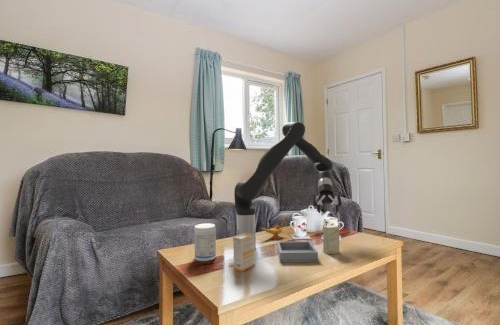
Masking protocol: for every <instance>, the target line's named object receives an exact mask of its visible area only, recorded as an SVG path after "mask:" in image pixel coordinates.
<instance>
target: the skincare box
mask: <svg viewBox="0 0 500 325" xmlns="http://www.w3.org/2000/svg"><path fill="white" fill-rule="evenodd" d="M322 234H323V235H322V236H323V240H322V242H323V244H322V246H323V248H322V249H323V252H324V253H326V254H327V255H332V254H340V252H341V251H340V227H339V226H338V225H335V224H332V225H323V226H322Z"/></svg>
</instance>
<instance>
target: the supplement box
mask: <svg viewBox="0 0 500 325" xmlns="http://www.w3.org/2000/svg"><path fill="white" fill-rule="evenodd" d="M232 243H233V248H232V249H233V269H234V270H237V271H240V272H244V271H246V270H248V269H250V268H251V267H255V265H256V260H255V259H256V257H255V256H256V255H255V254H256V253H255V252H256V251H255V250H256V249H254V234H251V233H243V234H240V235H237V234H236V235H235V236H232Z"/></svg>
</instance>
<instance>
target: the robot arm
mask: <svg viewBox="0 0 500 325" xmlns="http://www.w3.org/2000/svg"><path fill="white" fill-rule="evenodd" d="M281 130H282V131H281V132H282V135H283V138H282V139H281V140H279V141H278V142H277V143H275V144H273V145H272V146H271V147H270V148H269V149H267V150H266V151H265V152H264V154H263V155H262V156H261V157H260V160H259V162H258V164H257V167H256V169H255V171H254V173H253V174H252V175H251V176H250V177H249V179H248V180H246V181H245V180H242V181H239V182H237V183H236V185H235V187H234V191H233V193H234V194H233V196H234V207H235V211H236V232H235V233H236V236H237V235H240V234H243V233H251V234H254V250H256V249H257V248H256V246H257V243H256V242H257V241H256V240H257V237H256V208H255V207H254V205H253V200H254V199H255V198H256V197H257V195H258V194H259V193H260V191H261V189H262V188H263V185H264V184H265V183H266V181H267V180H268V179H269V178H270V177H271V175H272V174H273V172H274V171H275V170H276V169H277V167H278V166H280V164H281V162H282V161H283V160H284V158H285V157H286V156H287V155H288V154H289V152H290V151H291V150H292V149H293V148H294V147H297V149H299V150H300V151H301V152H302V153H303V154H304V155H305V157H307V158H308V160H310V162H311V163H312V164H314V166H313V168H314V171H315V172H316V175H317V180H318V183H317V188H318V195H316V194H313V196H312V198H313V199H312V200H313V201H312V203H313V207H316V209H317V210H316V211H317V213H318V214H320V213H321V206H322V205H326V204H329V205H330V204H331V205H332V206H333V207H334V210H335V214H338V213H339V211H340V210H339V207H342V204H343V203H342V202H343V201H342V198H341V195H340V194H337V195H335V193H334V188H333V183H332V177H331V173H330V172H329V171H330V170H332V169H333V166H334V165H333V162H332V160H330V159H329V158H328V157H326V156H325V155H323V154H322V153H321V152H320V151H319V150H318V148H316V146H314V145H313V144H312V143H311V142H309V141H308V140H306V139H304V138H303V137H304V135H305V132H306V126H305V124H303V122H300V121H293V122H292V121H290V122H286V123H284V125H283V126H282V129H281ZM317 200H318V202H316V201H317Z"/></svg>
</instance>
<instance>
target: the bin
mask: <svg viewBox="0 0 500 325" xmlns="http://www.w3.org/2000/svg"><path fill="white" fill-rule="evenodd" d="M276 250H277V254H278V255H277V256H278V258H279V263H317V262H319V252H318V251H317V249H316V248H315V246H314V244H313V243H312V241H310V240H309V241H307V240H306V241H301V240H300V241H277V242H276Z"/></svg>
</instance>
